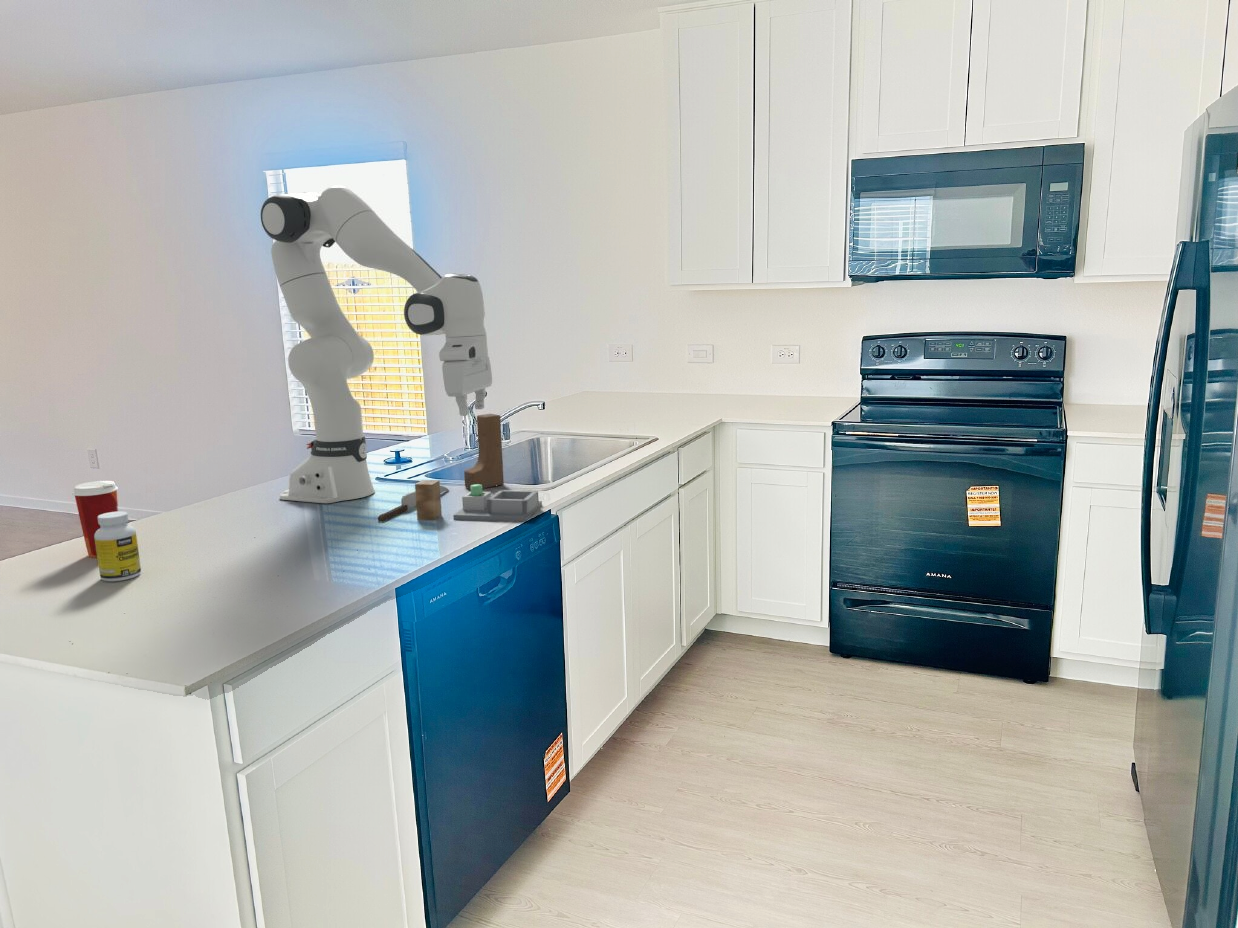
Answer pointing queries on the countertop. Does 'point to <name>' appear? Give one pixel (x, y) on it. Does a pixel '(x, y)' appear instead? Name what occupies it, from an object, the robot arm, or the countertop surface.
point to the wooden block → (487, 454)
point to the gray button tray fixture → (499, 506)
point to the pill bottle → (117, 547)
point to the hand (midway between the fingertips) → (472, 412)
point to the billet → (428, 500)
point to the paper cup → (94, 508)
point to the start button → (476, 490)
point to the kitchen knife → (404, 505)
